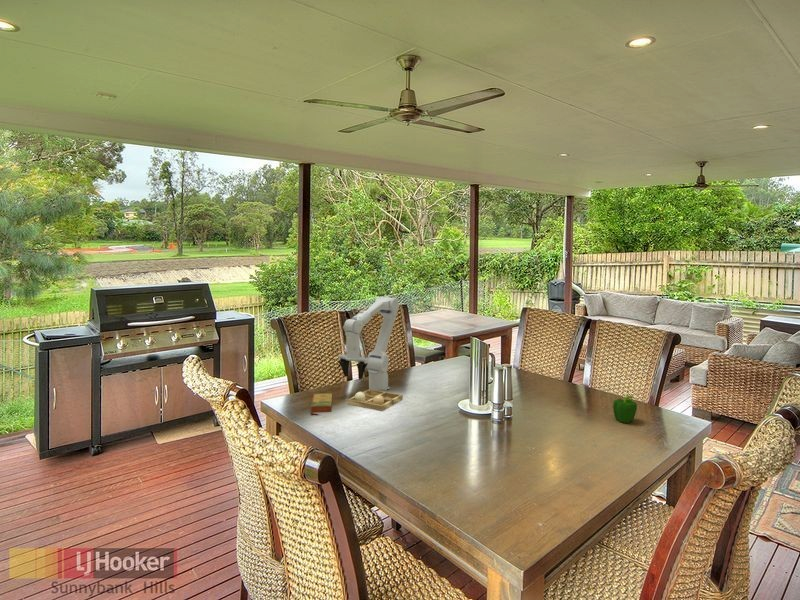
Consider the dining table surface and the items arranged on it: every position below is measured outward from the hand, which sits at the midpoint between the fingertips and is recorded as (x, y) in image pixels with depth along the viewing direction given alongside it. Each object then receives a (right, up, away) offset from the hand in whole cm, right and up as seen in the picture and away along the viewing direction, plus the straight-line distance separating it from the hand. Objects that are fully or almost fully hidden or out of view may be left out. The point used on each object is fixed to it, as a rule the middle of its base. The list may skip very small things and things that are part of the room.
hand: (353, 377), depth 212 cm
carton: (-12, -12, -10) cm, 20 cm away
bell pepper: (+107, -13, -24) cm, 111 cm away
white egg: (+5, -9, -7) cm, 13 cm away
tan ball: (+12, -10, -11) cm, 19 cm away
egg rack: (+10, -11, -5) cm, 16 cm away
